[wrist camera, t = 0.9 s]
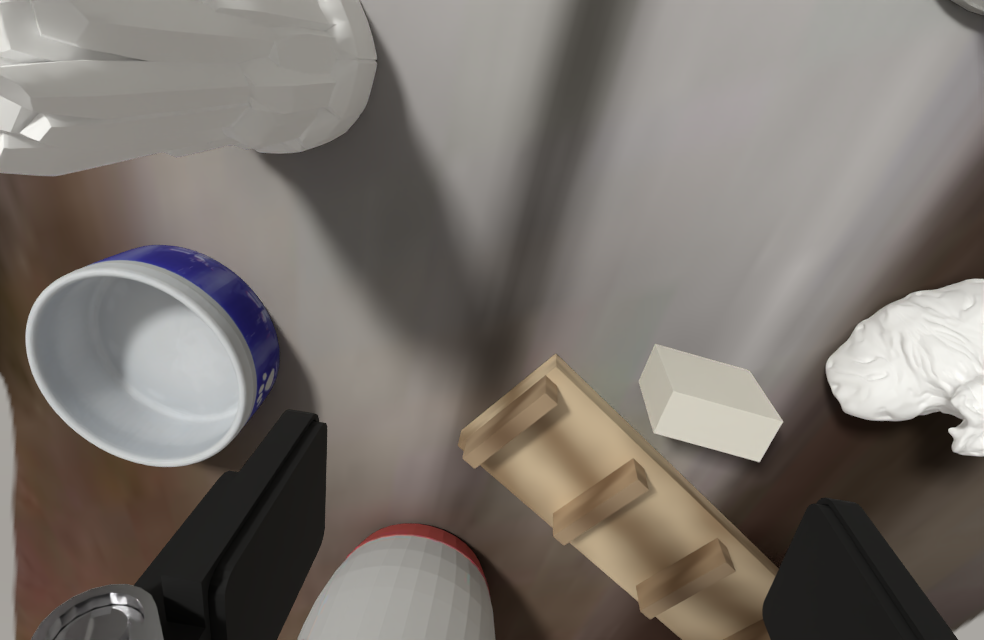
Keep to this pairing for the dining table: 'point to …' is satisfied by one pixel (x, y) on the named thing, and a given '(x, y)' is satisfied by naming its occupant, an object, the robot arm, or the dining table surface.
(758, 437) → the frame block
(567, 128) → the dining table surface
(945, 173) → the dining table surface
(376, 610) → the citrus juicer
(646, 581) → the wooden rack
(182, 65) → the white crystal cluster
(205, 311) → the dog bowl
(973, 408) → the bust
